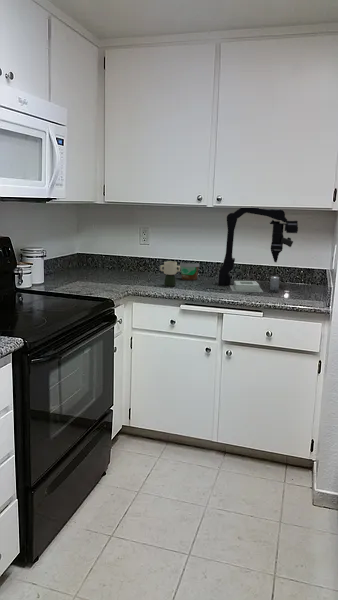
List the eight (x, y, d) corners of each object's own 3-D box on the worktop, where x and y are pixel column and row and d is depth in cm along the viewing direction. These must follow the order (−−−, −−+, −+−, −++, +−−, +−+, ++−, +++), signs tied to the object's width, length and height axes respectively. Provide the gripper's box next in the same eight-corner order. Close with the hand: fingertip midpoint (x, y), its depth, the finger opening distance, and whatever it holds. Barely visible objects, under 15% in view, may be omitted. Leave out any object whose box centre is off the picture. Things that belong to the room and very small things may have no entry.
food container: (175, 279, 288) (176, 262, 286) (180, 277, 294) (180, 261, 291) (195, 281, 283) (195, 264, 281) (199, 279, 289) (199, 262, 286)
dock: (232, 292, 256) (233, 285, 255) (229, 286, 271) (230, 279, 271) (263, 292, 256) (263, 286, 255) (258, 286, 271) (259, 280, 270)
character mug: (180, 284, 272) (180, 261, 269) (179, 287, 265) (180, 263, 262) (160, 284, 273) (161, 260, 270) (159, 286, 266) (159, 262, 263)
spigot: (270, 292, 256) (271, 277, 255) (269, 290, 261) (270, 276, 259) (279, 292, 256) (280, 277, 254) (277, 291, 260) (278, 276, 259)
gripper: (293, 234, 256) (291, 264, 260) (292, 232, 274) (290, 259, 277) (271, 233, 258) (269, 263, 262) (272, 231, 276) (270, 258, 280)
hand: (275, 261), depth 270 cm, fingers open, 9 cm apart
